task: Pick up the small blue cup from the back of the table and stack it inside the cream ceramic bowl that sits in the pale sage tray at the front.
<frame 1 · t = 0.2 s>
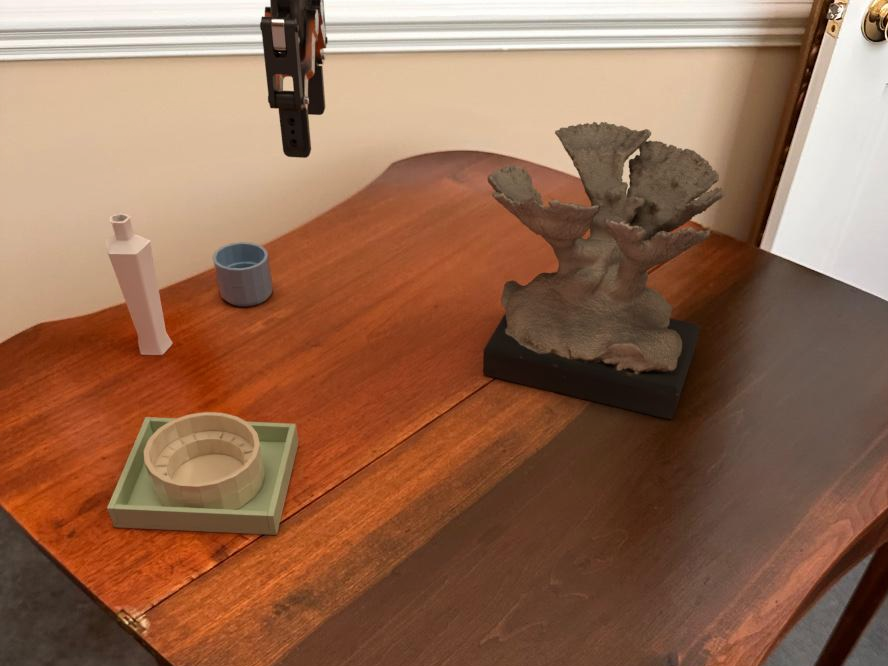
hand: (305, 133, 74), 27 cm above the table, tool pointing down, fingers open, 8 cm apart
large bowl: (206, 465, 83), in the tray
coral: (583, 348, 101), on the table
perfume bottle: (153, 348, 99), on the table
blue cup: (246, 294, 107), on the table
tray: (210, 483, 85), on the table
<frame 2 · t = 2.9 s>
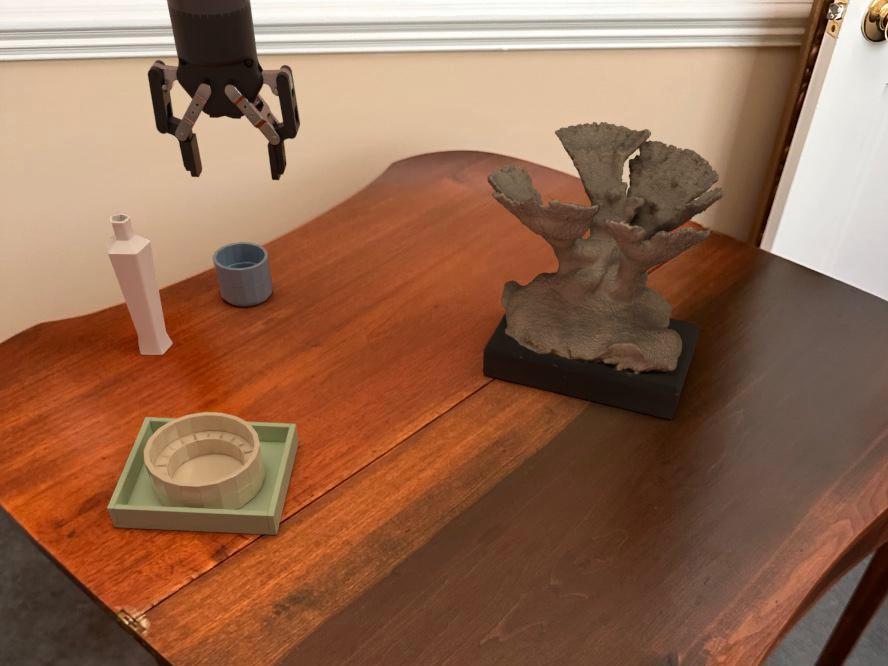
hand: (236, 175, 92), 16 cm above the table, tool pointing down, fingers open, 8 cm apart
nothing on the table moved.
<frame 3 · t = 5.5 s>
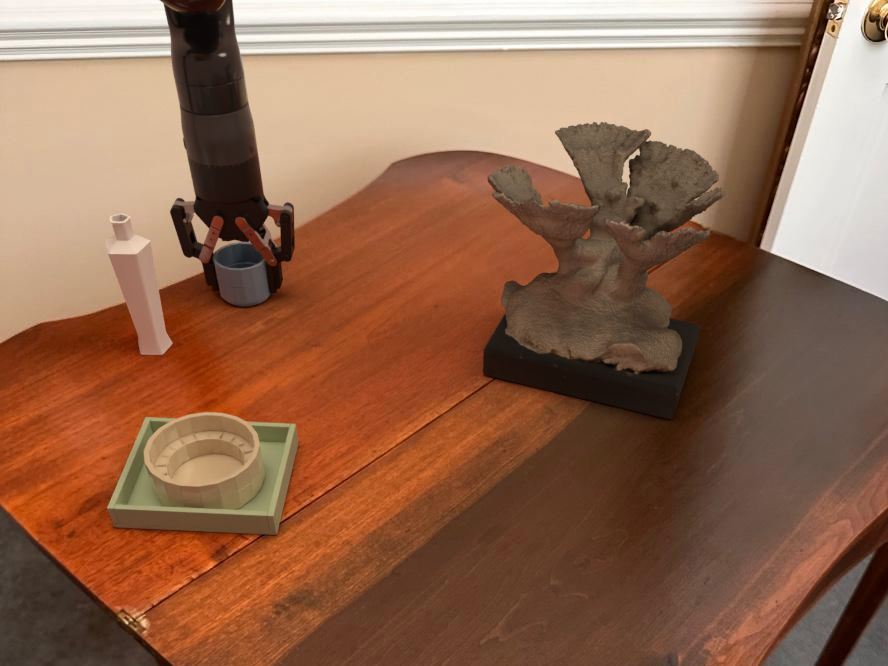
hand: (245, 288, 106), 1 cm above the table, tool pointing down, fingers closed on blue cup, 6 cm apart
blue cup: (246, 294, 107), on the table, touching gripper
everything else where it was.
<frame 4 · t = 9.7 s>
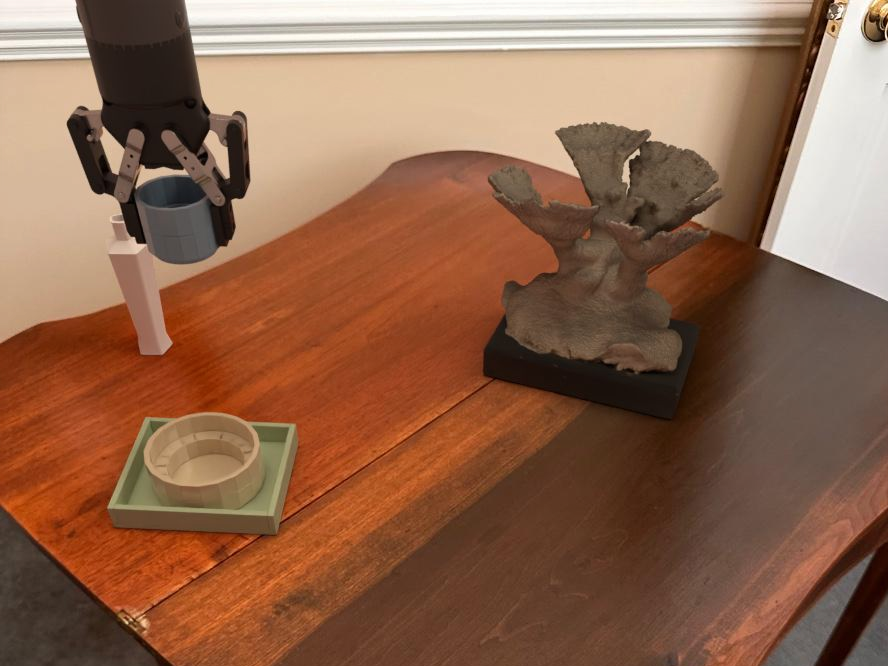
hand: (183, 240, 76), 20 cm above the table, tool pointing down, fingers closed on blue cup, 6 cm apart
blue cup: (186, 248, 77), point 19 cm above the table, touching gripper
everything else where it was.
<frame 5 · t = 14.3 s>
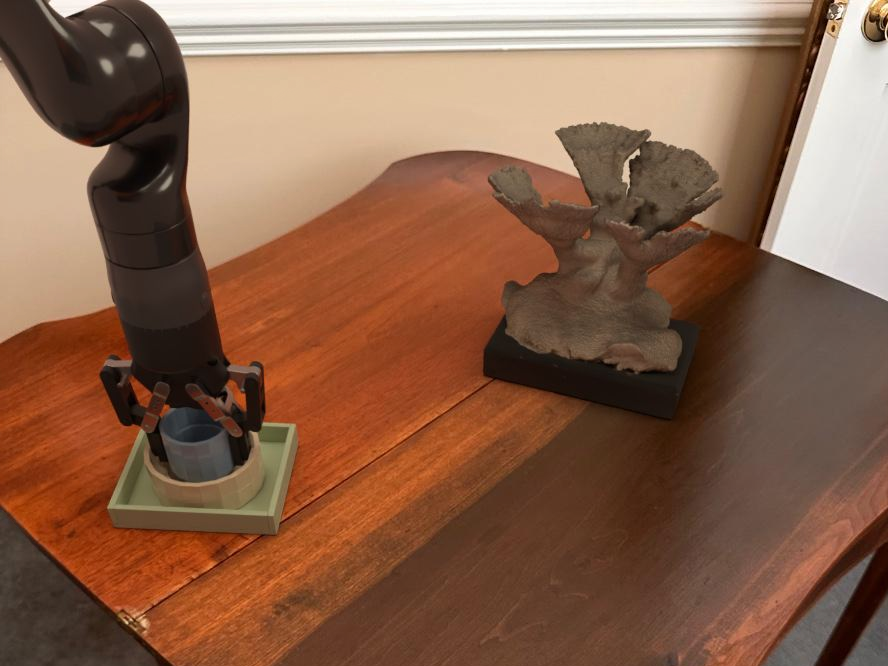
hand: (203, 458, 82), 3 cm above the table, tool pointing down, fingers closed on blue cup, 6 cm apart
blue cup: (205, 463, 83), point 2 cm above the table, touching gripper
everything else where it was.
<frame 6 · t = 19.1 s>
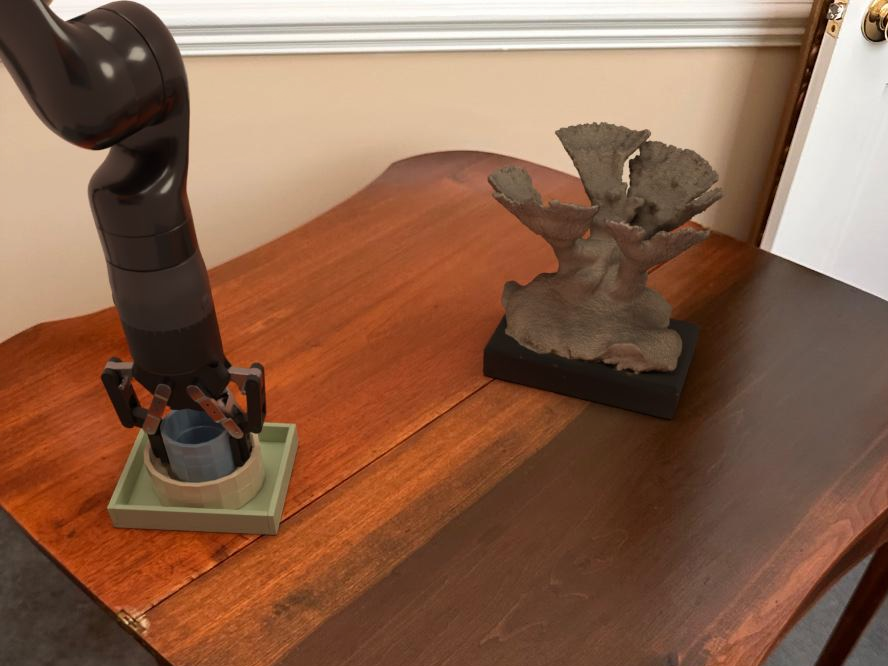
hand: (205, 459, 83), 3 cm above the table, tool pointing down, fingers closed on blue cup, 6 cm apart
blue cup: (206, 465, 83), point 2 cm above the table, touching gripper
everything else where it was.
when the fingers open (4 cm above the table, at t = 23.5 s): blue cup drops 3 cm, resting on large bowl.
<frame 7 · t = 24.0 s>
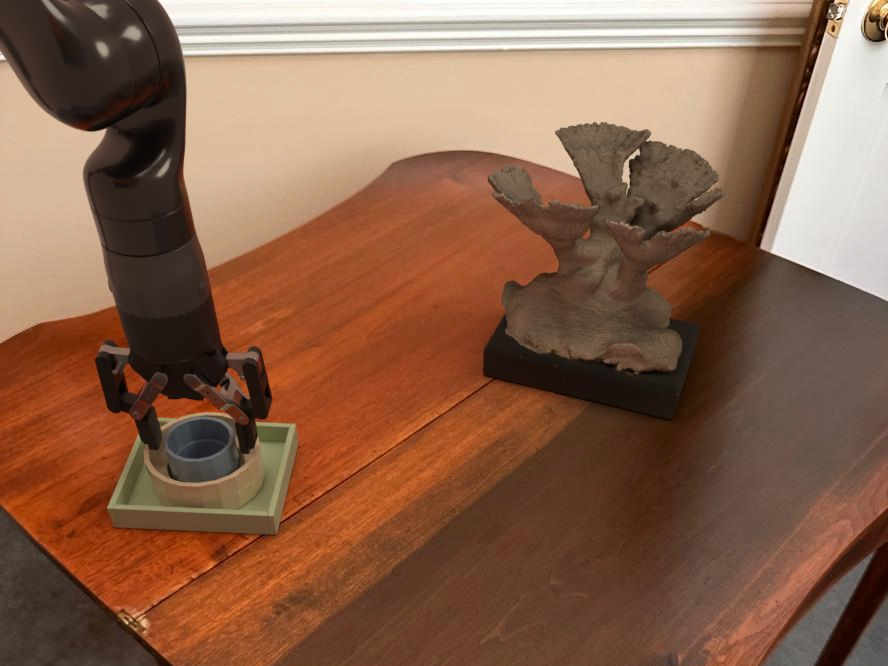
hand: (201, 446, 81), 5 cm above the table, tool pointing down, fingers open, 8 cm apart
blue cup: (209, 478, 84), point 1 cm above the table, touching large bowl
everything else where it was.
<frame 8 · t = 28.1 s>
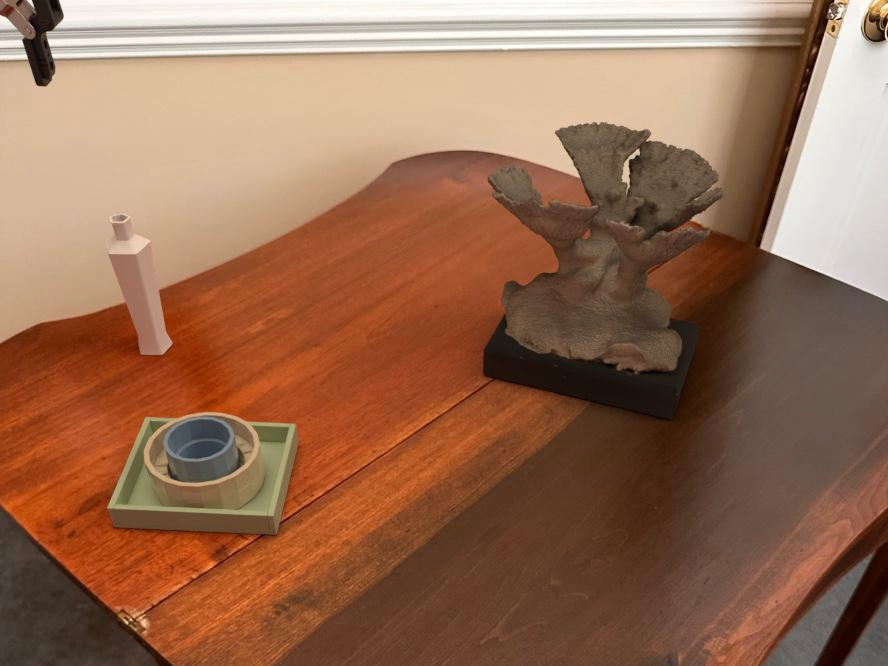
nothing on the table moved.
at the end: blue cup 0.1 cm off-centre in the large bowl, point 0.6 cm above the large bowl's base; blue cup tilted 0°; the gripper is holding nothing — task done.
